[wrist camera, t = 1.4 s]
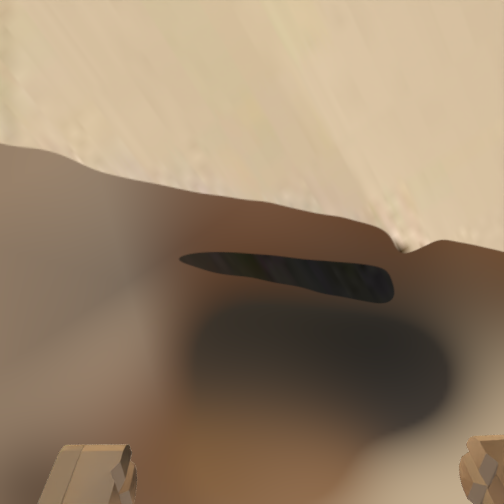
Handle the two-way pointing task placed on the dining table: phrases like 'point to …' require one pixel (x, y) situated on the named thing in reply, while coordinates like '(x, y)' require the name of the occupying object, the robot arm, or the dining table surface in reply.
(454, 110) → the dining table surface
